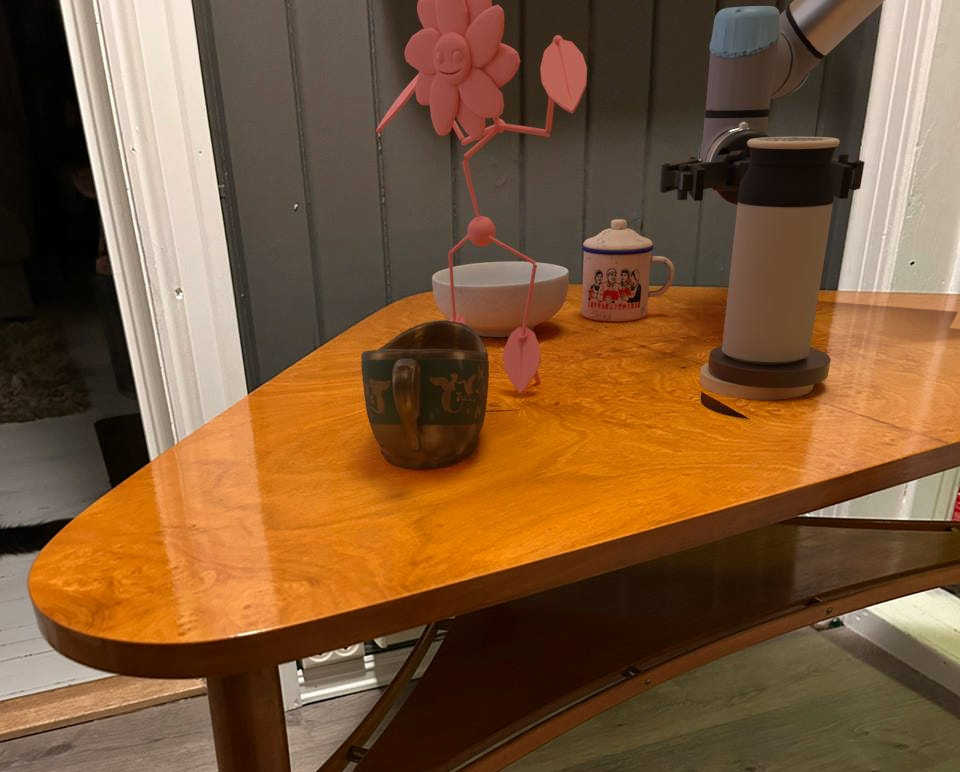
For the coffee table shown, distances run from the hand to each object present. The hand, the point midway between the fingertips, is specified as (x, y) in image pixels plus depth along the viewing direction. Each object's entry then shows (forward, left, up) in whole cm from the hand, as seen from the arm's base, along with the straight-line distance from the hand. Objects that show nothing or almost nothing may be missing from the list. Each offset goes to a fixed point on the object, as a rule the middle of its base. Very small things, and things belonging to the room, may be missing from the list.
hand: (772, 184), depth 89 cm
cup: (+37, +10, -18) cm, 43 cm away
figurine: (+30, -6, -18) cm, 35 cm away
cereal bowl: (+18, -29, -18) cm, 39 cm away
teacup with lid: (0, -31, -18) cm, 36 cm away
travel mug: (+4, +9, -14) cm, 17 cm away
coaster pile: (+4, +9, -18) cm, 20 cm away
